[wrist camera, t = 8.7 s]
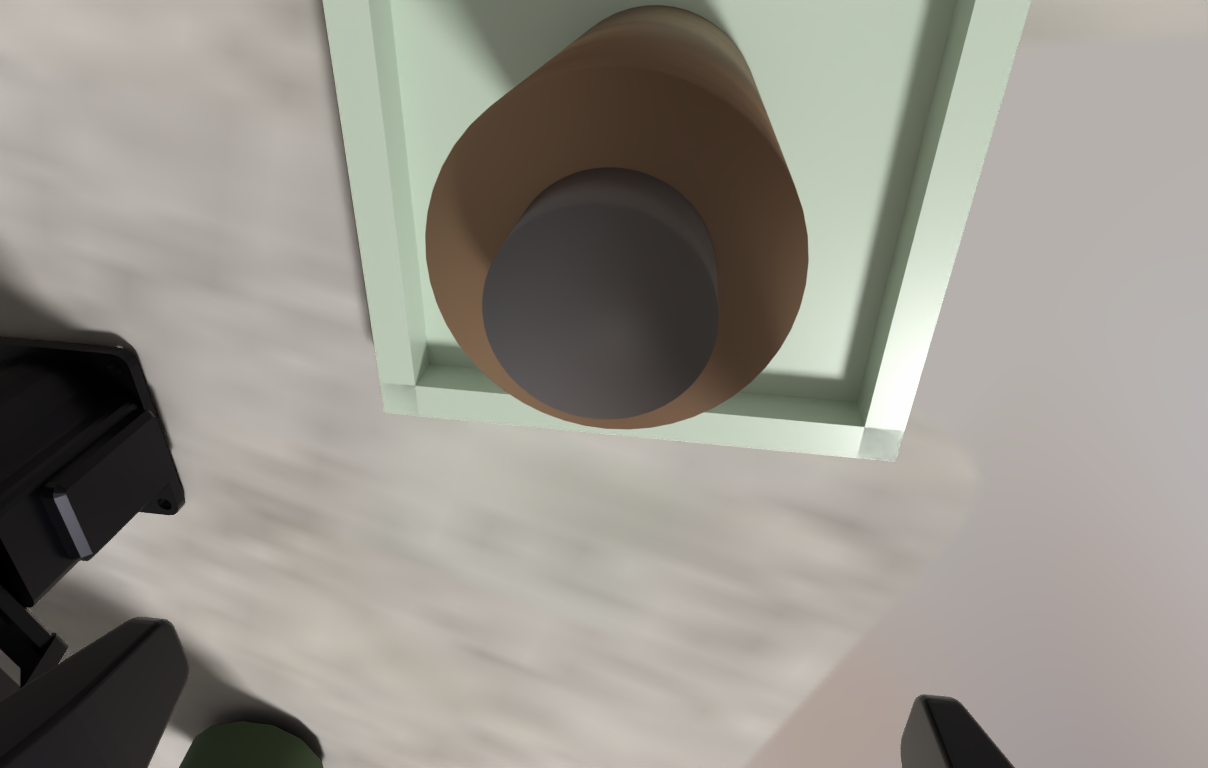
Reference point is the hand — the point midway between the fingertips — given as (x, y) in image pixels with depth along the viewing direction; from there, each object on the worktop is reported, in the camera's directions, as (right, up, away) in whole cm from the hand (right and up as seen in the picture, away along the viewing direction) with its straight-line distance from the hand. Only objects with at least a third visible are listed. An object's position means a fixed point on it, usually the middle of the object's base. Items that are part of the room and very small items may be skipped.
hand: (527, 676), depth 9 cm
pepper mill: (+2, +9, +8) cm, 13 cm away
